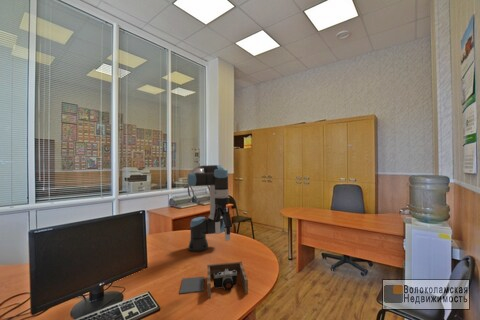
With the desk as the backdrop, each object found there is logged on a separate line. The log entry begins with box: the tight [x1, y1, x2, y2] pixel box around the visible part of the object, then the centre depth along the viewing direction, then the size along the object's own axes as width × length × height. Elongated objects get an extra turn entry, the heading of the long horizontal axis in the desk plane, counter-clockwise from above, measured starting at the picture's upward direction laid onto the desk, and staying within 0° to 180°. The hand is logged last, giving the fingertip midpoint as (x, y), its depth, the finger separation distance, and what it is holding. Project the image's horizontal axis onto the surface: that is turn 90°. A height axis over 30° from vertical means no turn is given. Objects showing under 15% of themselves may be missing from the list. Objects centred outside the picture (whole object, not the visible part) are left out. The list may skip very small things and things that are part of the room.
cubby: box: [206, 261, 249, 299], centre depth 116 cm, size 20×20×7 cm
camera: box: [213, 269, 238, 292], centre depth 114 cm, size 13×8×9 cm, turn 106°
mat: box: [179, 276, 205, 295], centre depth 117 cm, size 14×12×1 cm
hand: (222, 237), depth 116 cm, fingers open, 13 cm apart
